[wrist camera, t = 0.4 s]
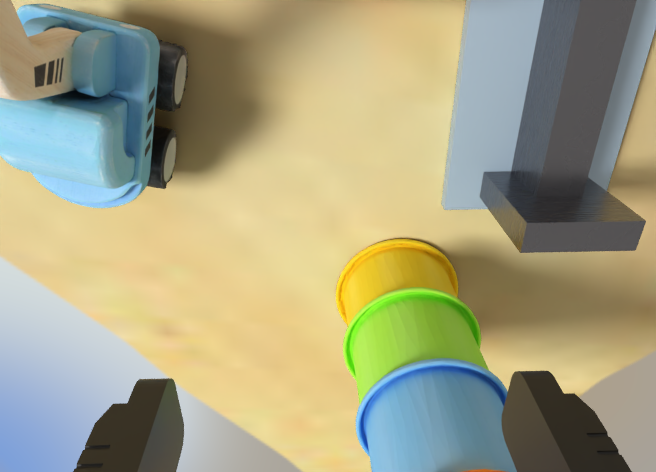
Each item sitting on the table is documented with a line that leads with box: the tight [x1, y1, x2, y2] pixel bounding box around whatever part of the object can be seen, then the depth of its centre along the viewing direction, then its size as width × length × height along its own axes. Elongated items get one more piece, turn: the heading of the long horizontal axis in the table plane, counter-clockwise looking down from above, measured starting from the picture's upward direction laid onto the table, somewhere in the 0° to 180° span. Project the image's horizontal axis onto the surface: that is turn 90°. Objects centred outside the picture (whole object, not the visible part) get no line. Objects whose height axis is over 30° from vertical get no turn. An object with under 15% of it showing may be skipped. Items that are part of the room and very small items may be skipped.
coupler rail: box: [480, 0, 646, 253], centre depth 28 cm, size 20×7×8 cm, turn 0°
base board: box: [441, 0, 656, 210], centre depth 32 cm, size 22×12×1 cm, turn 0°
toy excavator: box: [0, 0, 188, 208], centre depth 24 cm, size 9×17×17 cm, turn 166°
